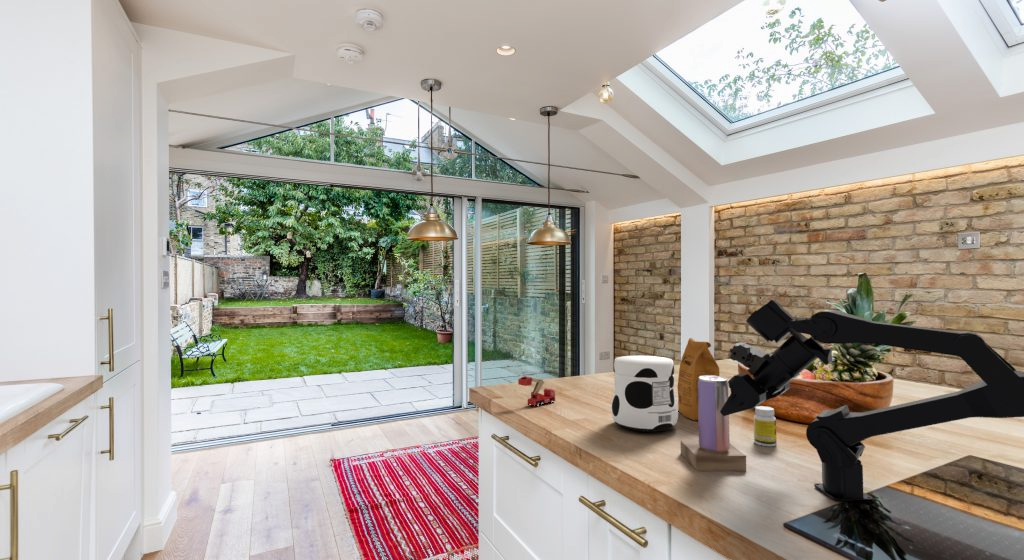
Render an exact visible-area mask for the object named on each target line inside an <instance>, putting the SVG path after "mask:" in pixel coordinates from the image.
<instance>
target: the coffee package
mask: <svg viewBox="0 0 1024 560" xmlns="http://www.w3.org/2000/svg"><path fill="white" fill-rule="evenodd" d="M711 347H712V344H711V343H710V342H709V341H696V340H695V339H694V338H692V337H690V338H688V340H687V344H686V346H685V349H684V352H683V354H682V356H681V360H680V363H679V369H678V380H677V388H676V389H677V398H678V400H677V405H678V411H679V412H678V413H681V414H682V416H683V417H684V416H685V417H684V418H686V417H687V418H686V419H689V420H692V421H698V381H699V377H700V376H719V377H720V366H719V365H718V363H717V362H716V359H715V358H714V356H713V354H712V353H711V351H710V348H711Z"/></svg>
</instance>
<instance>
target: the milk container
mask: <svg viewBox="0 0 1024 560" xmlns="http://www.w3.org/2000/svg"><path fill="white" fill-rule="evenodd" d="M613 364H614V365H613V372H614V373H613V379H614V380H613V381H614V387H613V388H614V391H613V396H612V399H611V403H610V404H611V406H610V409H611V415H612V419H613V422H614V423H615V424H616V425H618V426H620V427H621V428H623V429H624V428H625V429H628V430H632V431H639V432H646V433H647V432H648V433H652V432H663V431H668V430H671V429H672V428H674V427H675V426H676V425H677V422H678V419H679V412H678V400H677V399H676V395H675V364H674V360H673V359H672V358H670V357H663V356H654V355H624V356H617V357H615V358H614V362H613Z"/></svg>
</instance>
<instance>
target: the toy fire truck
mask: <svg viewBox="0 0 1024 560" xmlns="http://www.w3.org/2000/svg"><path fill="white" fill-rule="evenodd" d="M532 382H533V383H535V385H534V388H533V390H532V391H531V392H530V397H529V398H527V405H528V404H531V405H539V404H544V403H548V402H552V401H555V402H556V393H555V390H554V389H552V388H546V387H545V388H544V389H543V394H542V393H540V391H541V390H542V387H543V386H544V384H545V381H544V380H543V378H537V377H531V376H527V375H524V376H521V377H519V378H518V382H517V383H518V385H519V386H520V385H521V386H524V387H526V386H532ZM548 404H549V403H548ZM544 405H545V404H544Z"/></svg>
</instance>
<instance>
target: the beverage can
mask: <svg viewBox="0 0 1024 560" xmlns="http://www.w3.org/2000/svg"><path fill="white" fill-rule="evenodd" d="M729 392H730V391H729V384H728V378H726V377H724V376H720V375H719V376H700V377H699V381H698V420H697V421H698V440H699V446H700V448H701V449H702V450H703V451H706V452H709V453H715V454H722V453H726V452H728V450H729V448H730V444H731V443H730V415H726V416H723V415H722V414H721V413H720V411H721V409H722V407H723V406H724V404H725V403H726V401H727V399H728V398H729V396H730V393H729Z"/></svg>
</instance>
